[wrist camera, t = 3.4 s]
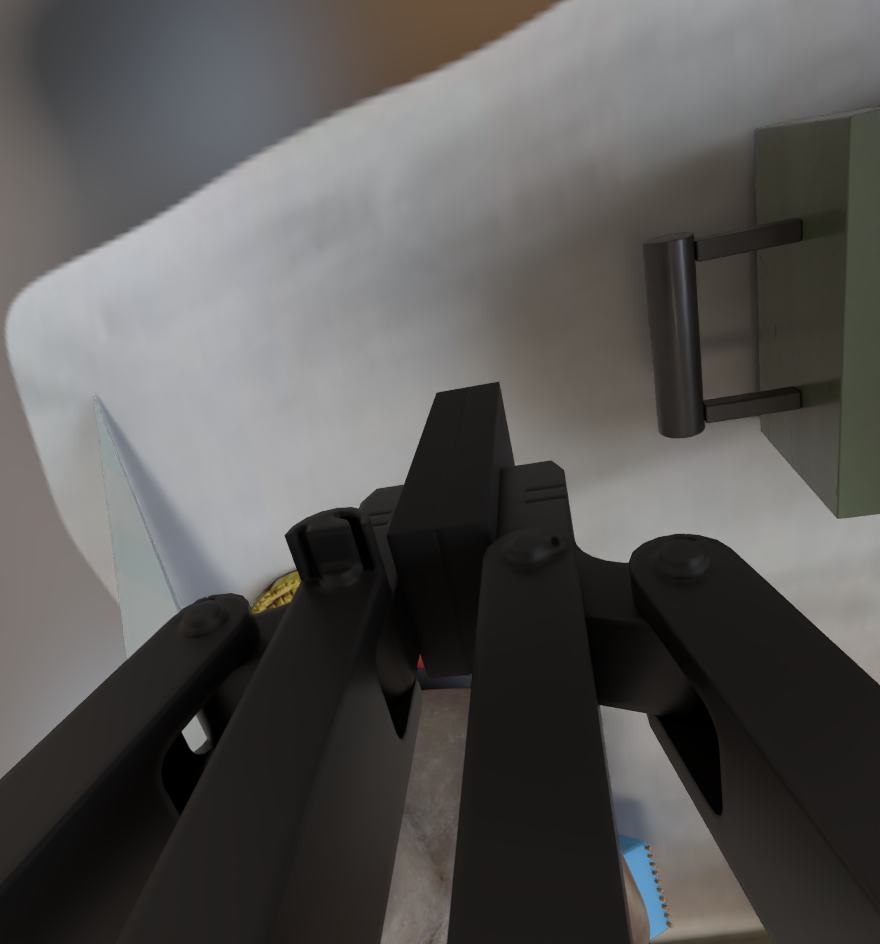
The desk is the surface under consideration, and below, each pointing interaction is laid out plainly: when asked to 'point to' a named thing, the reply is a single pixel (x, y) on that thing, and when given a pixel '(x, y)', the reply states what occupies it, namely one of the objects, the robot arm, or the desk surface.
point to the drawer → (792, 308)
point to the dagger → (137, 564)
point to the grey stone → (445, 830)
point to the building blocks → (646, 882)
